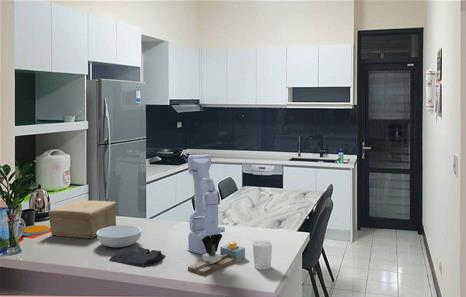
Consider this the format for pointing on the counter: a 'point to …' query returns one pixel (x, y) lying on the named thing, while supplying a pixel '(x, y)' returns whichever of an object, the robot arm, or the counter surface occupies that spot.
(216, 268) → the rail board
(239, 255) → the cabinet
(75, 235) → the paper package
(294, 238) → the counter surface
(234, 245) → the button
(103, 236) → the serving bowl
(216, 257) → the carriage
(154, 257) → the dark grey folded cloth
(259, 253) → the white cup
